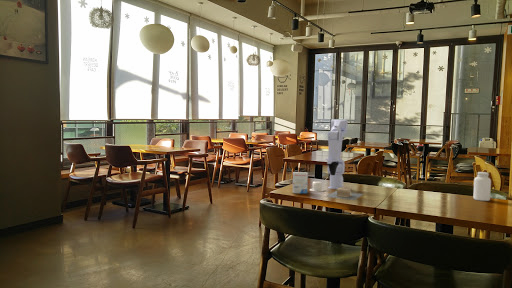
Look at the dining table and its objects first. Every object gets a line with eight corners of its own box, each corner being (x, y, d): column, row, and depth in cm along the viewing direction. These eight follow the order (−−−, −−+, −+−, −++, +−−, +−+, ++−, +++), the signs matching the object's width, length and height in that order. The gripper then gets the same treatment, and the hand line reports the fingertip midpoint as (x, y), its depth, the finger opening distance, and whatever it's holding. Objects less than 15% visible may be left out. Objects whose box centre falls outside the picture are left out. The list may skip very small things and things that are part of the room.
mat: (336, 191, 228) (336, 190, 228) (363, 194, 220) (363, 193, 220) (324, 197, 211) (324, 196, 211) (354, 201, 203) (354, 200, 203)
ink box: (307, 192, 226) (307, 171, 225) (307, 193, 221) (307, 173, 220) (292, 191, 227) (292, 171, 226) (292, 193, 222) (292, 172, 221)
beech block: (340, 187, 219) (337, 188, 212) (351, 188, 216) (347, 190, 209) (340, 194, 219) (336, 196, 213) (351, 195, 216) (347, 197, 210)
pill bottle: (487, 198, 215) (489, 172, 214) (491, 201, 207) (493, 173, 206) (471, 197, 217) (473, 171, 216) (474, 200, 210) (476, 173, 209)
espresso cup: (312, 188, 237) (313, 180, 237) (326, 190, 233) (327, 182, 232) (307, 190, 229) (307, 182, 229) (321, 192, 225) (321, 184, 225)
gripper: (330, 150, 231) (330, 173, 232) (322, 152, 218) (321, 175, 219) (342, 151, 227) (341, 174, 228) (334, 152, 215) (333, 177, 216)
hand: (332, 175), depth 224 cm, fingers closed
